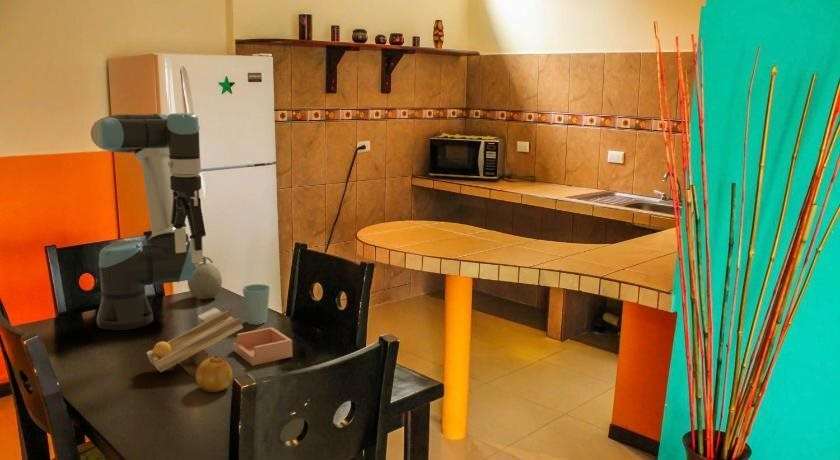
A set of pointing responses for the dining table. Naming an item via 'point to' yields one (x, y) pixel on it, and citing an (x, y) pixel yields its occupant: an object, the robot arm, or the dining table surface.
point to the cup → (256, 303)
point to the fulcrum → (194, 362)
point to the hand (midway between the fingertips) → (189, 257)
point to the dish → (263, 346)
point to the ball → (162, 349)
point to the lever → (197, 338)
